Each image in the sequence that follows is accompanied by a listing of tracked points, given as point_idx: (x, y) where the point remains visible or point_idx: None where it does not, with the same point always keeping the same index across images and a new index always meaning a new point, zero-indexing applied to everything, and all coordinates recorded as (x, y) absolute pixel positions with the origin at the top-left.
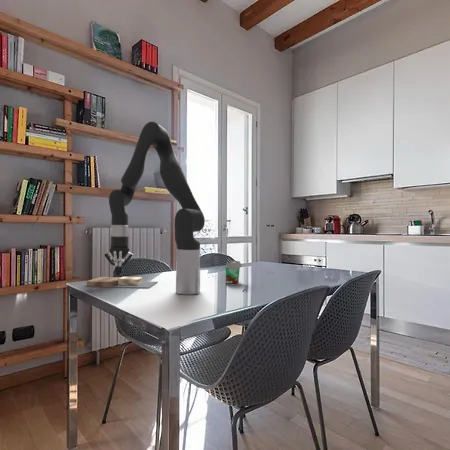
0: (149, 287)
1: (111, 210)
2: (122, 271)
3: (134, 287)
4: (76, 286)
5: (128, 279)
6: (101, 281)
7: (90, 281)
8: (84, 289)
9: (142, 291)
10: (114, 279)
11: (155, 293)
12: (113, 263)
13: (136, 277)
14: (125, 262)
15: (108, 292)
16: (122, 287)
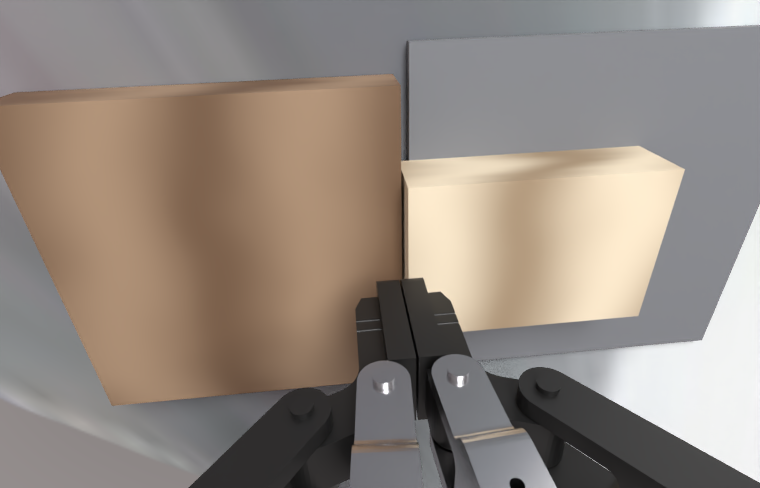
0: (704, 331)
1: None
2: (451, 319)
3: (578, 349)
4: (54, 398)
5: (528, 324)
6: (257, 381)
7: (150, 401)
8: (215, 458)
9: (645, 416)
10: (326, 254)
11: (728, 439)
12: (337, 483)
13: (604, 206)
14: (568, 480)
15: (429, 481)
16: (473, 355)
